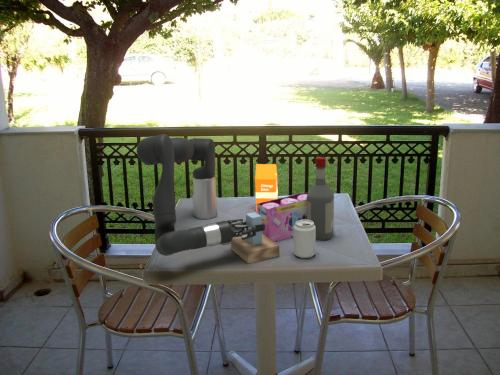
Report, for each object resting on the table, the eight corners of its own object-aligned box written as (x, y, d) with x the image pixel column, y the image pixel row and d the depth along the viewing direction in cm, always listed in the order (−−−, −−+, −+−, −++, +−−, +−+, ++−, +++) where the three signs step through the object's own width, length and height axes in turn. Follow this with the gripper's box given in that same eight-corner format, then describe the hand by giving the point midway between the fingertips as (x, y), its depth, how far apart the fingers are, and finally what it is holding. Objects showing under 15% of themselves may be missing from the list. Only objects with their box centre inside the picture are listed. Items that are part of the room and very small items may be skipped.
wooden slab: (248, 263, 174) (247, 252, 172) (231, 249, 186) (230, 238, 184) (279, 256, 179) (279, 245, 177) (260, 242, 191) (260, 232, 189)
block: (253, 245, 178) (252, 218, 175) (246, 240, 182) (245, 213, 179) (262, 243, 179) (261, 216, 177) (255, 238, 184) (254, 212, 181)
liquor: (334, 232, 198) (335, 155, 189) (330, 241, 189) (331, 161, 181) (310, 230, 200) (310, 154, 192) (305, 239, 192) (305, 160, 183)
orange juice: (258, 205, 231) (256, 162, 225) (278, 205, 230) (277, 162, 224) (256, 211, 224) (254, 166, 218) (276, 211, 222) (275, 166, 216)
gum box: (307, 223, 208) (307, 191, 204) (320, 229, 201) (320, 196, 197) (257, 237, 196) (256, 203, 192) (268, 243, 189) (267, 208, 185)
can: (301, 261, 174) (301, 227, 171) (289, 253, 181) (289, 220, 177) (319, 256, 177) (320, 223, 174) (307, 248, 184) (307, 216, 180)
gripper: (223, 230, 166) (270, 220, 173) (206, 217, 178) (251, 208, 185) (224, 251, 168) (270, 241, 175) (208, 237, 181) (251, 228, 188)
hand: (260, 224), depth 180 cm, fingers closed on block, 5 cm apart
